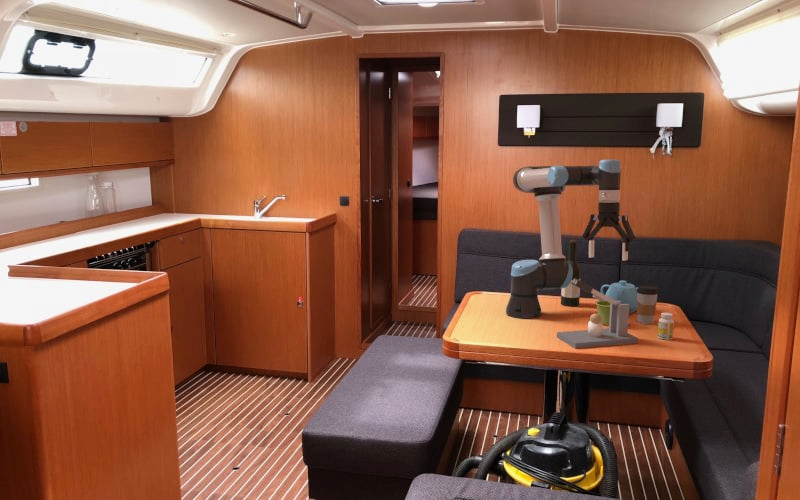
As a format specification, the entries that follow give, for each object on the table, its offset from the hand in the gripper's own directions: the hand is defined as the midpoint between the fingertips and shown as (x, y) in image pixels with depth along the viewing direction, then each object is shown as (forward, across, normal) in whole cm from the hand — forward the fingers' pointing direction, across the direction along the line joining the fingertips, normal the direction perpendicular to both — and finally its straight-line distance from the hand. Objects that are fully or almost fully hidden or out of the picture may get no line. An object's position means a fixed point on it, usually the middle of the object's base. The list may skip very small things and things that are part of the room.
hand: (607, 258), depth 239 cm
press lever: (+15, -3, -3) cm, 15 cm away
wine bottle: (+28, -39, +38) cm, 62 cm away
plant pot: (+30, -12, +22) cm, 39 cm away
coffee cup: (+30, -2, +36) cm, 47 cm away
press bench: (+31, -3, -2) cm, 31 cm away
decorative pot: (+29, -18, +46) cm, 57 cm away
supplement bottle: (+32, +14, +20) cm, 40 cm away
